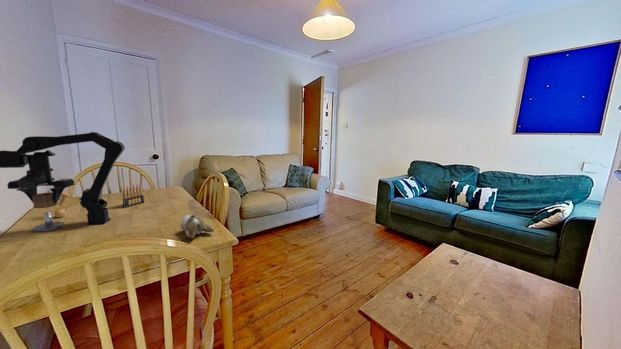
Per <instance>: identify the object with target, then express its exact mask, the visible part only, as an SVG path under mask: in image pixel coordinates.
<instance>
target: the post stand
mask: <svg viewBox="0 0 621 349" xmlns="http://www.w3.org/2000/svg"><path fill="white" fill-rule="evenodd" d="M42 217H43V222H44V223H42V224H38V225H36V226H34V227H33V232H34V233H47V232H51V231H52V232H53V231H55V230H59V229H62V228H64V227H65V222H64V221H54V220H53V214H52V212H50V211H49V212H44V213H43V215H42Z"/></svg>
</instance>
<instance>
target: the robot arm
mask: <svg viewBox="0 0 621 349" xmlns="http://www.w3.org/2000/svg"><path fill="white" fill-rule="evenodd" d="M21 142H22V143H21V144H22V145H21V146H20V147H18V149H17V150H6V149H5V150H0V169H10V168H12V169H15V168H25V166H27V165H28V169H29V170H26V174H25V175H24V176H22V177H20V178H19V179H15V180H10V181H8V183H7V189H8V190H9V189H10V190H13V189H15V190H16V191H18V192H19V191H20V192H22V193H24V194H25V195H26V196H27V197H28V199H29V200H30V201H31V202H32V203H33V199H32V195H35V194H38V187H43V186H44V187H45V186H46V187H47V186H49V187H50V186H51V188H49V190H50V191H51V192H52V193H53V201H54V203H57V204H58V203H59V200H60V198H61V197H60V196H61V193H62V192H63V193H64V190H65V188H69V187H72V186H75V180H73V179H72V178H61V179H60V178H59V179H58V180H57V179H56V180H55V177H53V176H52V172H53V171H54V168H51V164H50V157H54V156H56V153H54V152H52V151H51V150H49V149H51V148H54V147H55V148H56V147H59V146H64V145H72V144H80V143H89V142H93V143H95V144H96V145H98V146H100V147H101V148H102V149H105V150H104V158H103V161H102V164H101V166H100V167H99V170H98V172H97V174H96V176H95V178H94V180H93V182H92V184H91V187H87V188H86V189H84V190H83V191H82V195H81V197H80V198H79V201H80V202H79V204H80V206H81V207H82V208H83V209H85V210H86V211H87V213H86V216H87V218H86V219H87V223H86V225H91V226H92V225H104V224H106V223H107V222H110V220H112V218H111V217H109V215H110V214H109V208H108V207H107V206H108V201H106V200H105V199H103V198H102V197H103V189H104V187H105V184H106V183H107V180H108V178H109V176H110V173H111V171H112V170H113V167H114V166H115V162H116V161H117V160H118V159H119V158H120V156H121V155H122V154H123V152H125V148H126V147H125V145H124V144H123V143H122V142H121V141H117V140H116V141H115V140H113V139H111V138H109V137H106V136H104V135H102V134H100V133H99V132H97V131H91V132H87V133H78V134H69V135H61V136H51V135H50V136H48V135H46V136H45V135H43V136H42V135H40V136H39V135H37V136H35V135H34V136H27V137H25V138H24V139H23V140H22V141H21ZM43 150H45V151H43ZM29 153H32V154H29ZM52 186H53V187H52Z"/></svg>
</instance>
